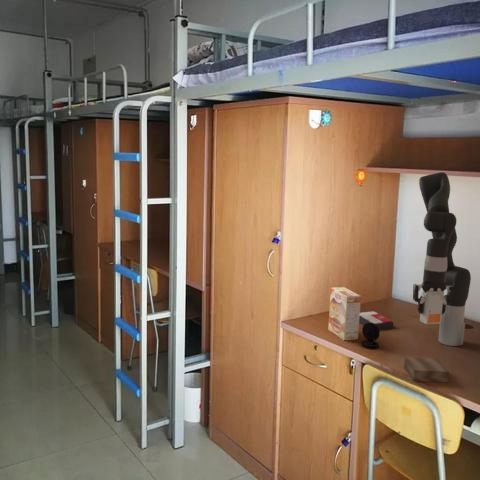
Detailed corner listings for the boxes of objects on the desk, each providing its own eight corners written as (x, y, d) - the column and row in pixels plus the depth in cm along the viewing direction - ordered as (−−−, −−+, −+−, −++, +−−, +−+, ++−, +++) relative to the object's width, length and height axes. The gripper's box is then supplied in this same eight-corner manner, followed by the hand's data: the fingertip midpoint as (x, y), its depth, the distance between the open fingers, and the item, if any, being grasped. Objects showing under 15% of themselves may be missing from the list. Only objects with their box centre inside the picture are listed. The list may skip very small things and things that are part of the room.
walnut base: (435, 368, 205) (437, 358, 205) (447, 382, 194) (448, 371, 193) (403, 367, 206) (404, 357, 205) (413, 380, 194) (414, 370, 193)
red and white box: (374, 323, 247) (355, 311, 260) (373, 332, 248) (354, 320, 261) (394, 320, 251) (374, 310, 265) (393, 329, 252) (373, 318, 266)
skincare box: (426, 324, 194) (429, 292, 192) (419, 321, 198) (422, 288, 196) (441, 323, 195) (444, 291, 193) (434, 320, 199) (437, 288, 197)
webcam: (382, 346, 227) (384, 323, 225) (372, 350, 222) (374, 327, 220) (366, 341, 233) (368, 318, 231) (356, 345, 228) (358, 322, 226)
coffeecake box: (327, 329, 246) (330, 287, 243) (341, 328, 248) (344, 286, 245) (343, 340, 232) (346, 296, 229) (358, 339, 234) (361, 295, 231)
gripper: (451, 266, 197) (447, 311, 199) (411, 265, 197) (407, 309, 200) (459, 271, 189) (454, 317, 192) (418, 269, 189) (414, 316, 192)
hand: (430, 313), depth 196 cm, fingers closed on skincare box, 7 cm apart
